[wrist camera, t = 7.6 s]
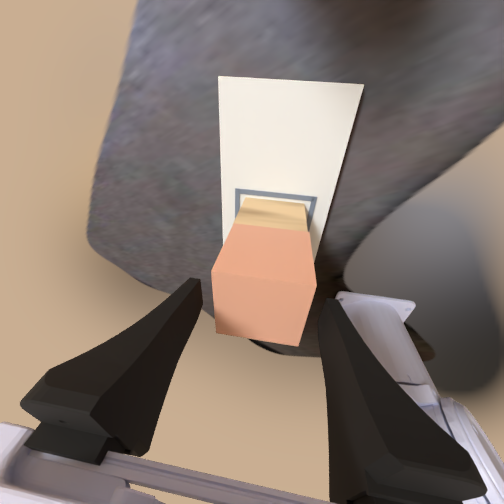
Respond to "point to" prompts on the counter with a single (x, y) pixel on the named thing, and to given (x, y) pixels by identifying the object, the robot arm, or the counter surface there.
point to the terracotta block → (264, 284)
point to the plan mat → (283, 144)
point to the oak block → (272, 214)
